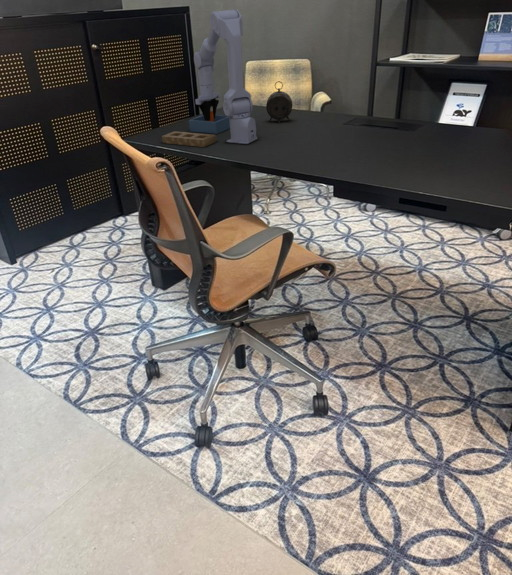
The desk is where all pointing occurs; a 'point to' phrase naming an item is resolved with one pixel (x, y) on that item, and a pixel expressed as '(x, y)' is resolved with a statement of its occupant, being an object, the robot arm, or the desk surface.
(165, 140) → the pen rack
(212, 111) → the pill bottle
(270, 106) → the alarm clock
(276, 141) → the desk surface
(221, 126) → the bin
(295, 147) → the desk surface
